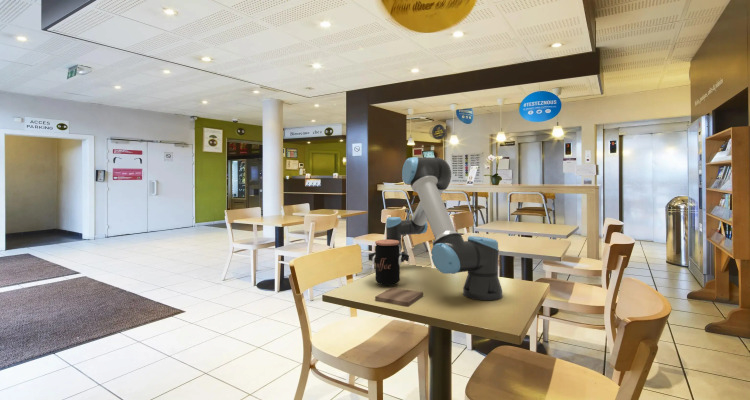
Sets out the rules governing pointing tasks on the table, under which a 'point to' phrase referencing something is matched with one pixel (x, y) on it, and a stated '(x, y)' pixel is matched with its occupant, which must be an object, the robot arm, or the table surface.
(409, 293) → the walnut board
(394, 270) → the coffee jar
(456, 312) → the table surface
